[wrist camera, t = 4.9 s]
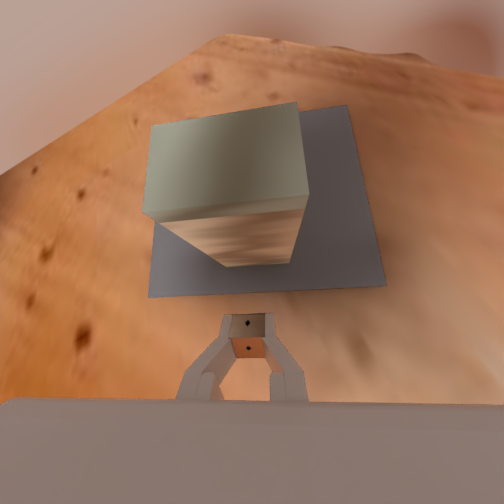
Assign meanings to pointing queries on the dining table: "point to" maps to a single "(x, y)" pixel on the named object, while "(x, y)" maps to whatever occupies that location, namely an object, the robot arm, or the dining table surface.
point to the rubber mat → (309, 235)
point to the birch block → (231, 183)
